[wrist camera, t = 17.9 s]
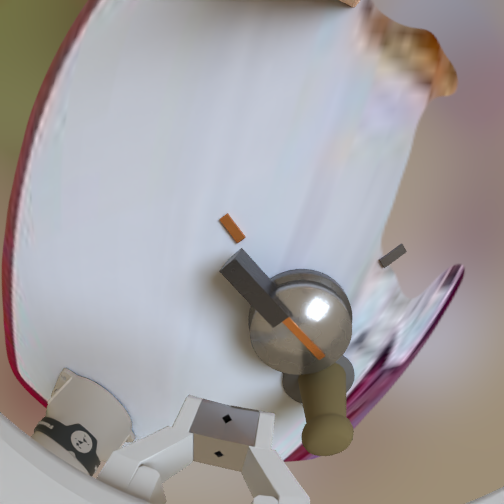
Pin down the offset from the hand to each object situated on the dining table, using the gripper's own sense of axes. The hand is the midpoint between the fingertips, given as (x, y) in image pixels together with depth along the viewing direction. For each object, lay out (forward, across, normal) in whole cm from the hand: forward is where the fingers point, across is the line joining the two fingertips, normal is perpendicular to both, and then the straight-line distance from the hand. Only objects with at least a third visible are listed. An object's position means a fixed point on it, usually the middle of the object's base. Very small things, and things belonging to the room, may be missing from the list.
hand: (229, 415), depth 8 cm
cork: (+21, -9, +14) cm, 27 cm away
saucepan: (+19, -2, +5) cm, 20 cm away
